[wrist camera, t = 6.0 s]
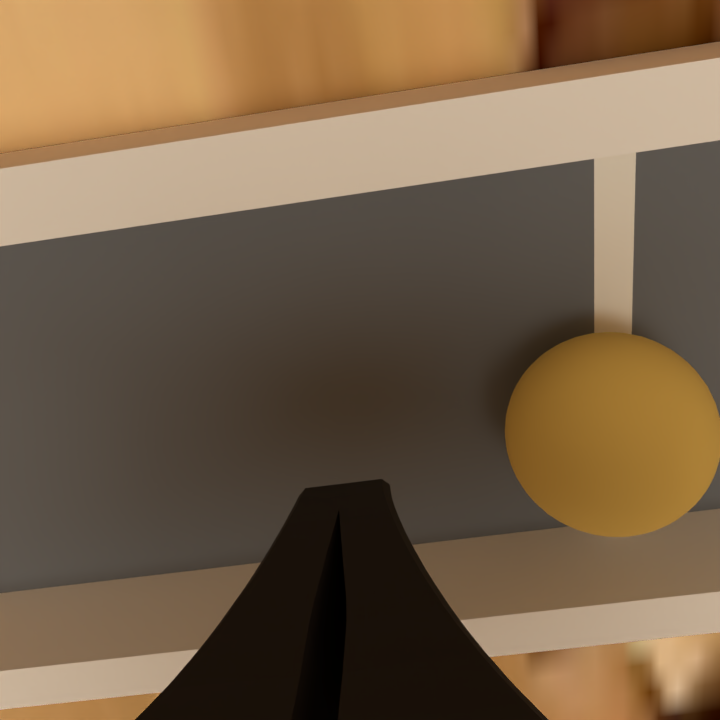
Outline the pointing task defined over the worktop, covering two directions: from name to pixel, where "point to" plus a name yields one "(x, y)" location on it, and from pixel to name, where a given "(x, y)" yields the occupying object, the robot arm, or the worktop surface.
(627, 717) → the worktop surface
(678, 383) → the ball
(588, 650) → the worktop surface
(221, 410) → the lane
